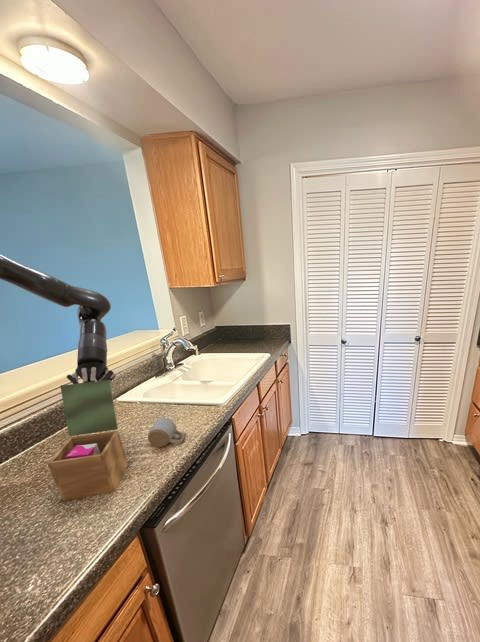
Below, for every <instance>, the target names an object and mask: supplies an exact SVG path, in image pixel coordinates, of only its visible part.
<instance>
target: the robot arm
mask: <svg viewBox="0 0 480 642" xmlns="http://www.w3.org/2000/svg"><path fill="white" fill-rule="evenodd" d="M0 280H2V281H4V282H6V283H9V284H11V285H14V286H16V287H18V288H19V289H22V290H25V291H26V292H29V293H31V294H33V295H35V296H37V297H40V298H42V299H44V300H47V301H48V302H50V303H53V304H56V305H58V306H61V307H63V308H70V307H72V306H78V308H77V311H76V313H77V315H76V316H77V320H78V323H79V327H80V329H79V339H78V344H77V359H76V366H77V367H76V368H75V371H74V372H73V374H67V375H66V379H68V381H70V383H71V384H78V383H80V382H79V380H80V379H81V380H82V383H87V382H96V381H105V380H110V382H112V381H113V380H114V379H115V378H116V373H115V372H114V371H113V370H109V368H108V367H107V365H108V363H107V362H108V343H107V327H106V324H105V323H104V322H102V319H103V318H104V317H105V316H107V315H108V314H109V313H110V311H111V309H112V304H111V302H110V300H109V299H108V298H107V297H106V296H105V295H103V294H101V293H99V292H98V291H94V290H90V289H87V288H82V287H79V286H74V285H72V284H69V283H67V282H66V281H63V280H61V279H59V278H57V277H54V276H52V275H50V274H48V273H45V272H43V271H40V270H38V269H36V268H32V267H31V266H28V265H25V264H23V263H20V262H18V261H15V260H13V259H11V258H9V257H7V256H5V255H3V254H1V253H0ZM79 378H80V379H79Z"/></svg>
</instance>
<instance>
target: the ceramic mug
mask: <svg viewBox="0 0 480 642" xmlns="http://www.w3.org/2000/svg"><path fill="white" fill-rule="evenodd" d="M175 435H177V436H179V437H180V439H173V438H174V436H175ZM184 439H185V435H184V433H182V432H181V431H180V430H177V425H176V423H175V422H174V421H173V420H171V419H169V418H167V417H162V418H158V419H156V420H155V421H154V423H153V425H152V426H151V428H150V430H149V431H148V435H147V440H148V442H149V444H151V445H152V446H154V447H157V448H162V447H165V446H167V445H169V443H171V444H175V445H176V444H181V443H183V441H184Z"/></svg>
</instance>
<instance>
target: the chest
mask: <svg viewBox="0 0 480 642" xmlns="http://www.w3.org/2000/svg"><path fill="white" fill-rule="evenodd" d="M95 443H97V445H98V448H99V450H100V453H101V454H98V455H91V456H85V457H78V458H71V459H66V458H65V456H66V455H67V454H68V453H69V452H70V451H72V450H73V448H74V447H75V446H78V445H88V444H95ZM128 466H129V463H128V459H127V456H126V452H125V448H124V446H123V443H122V439H121V436H120V431H119V430H112V431H105V432H98V433H91V434H84V435H76V436H69V438H68V439H67V440H66V441H65V443H64V444H63V445H62V446H61V447H60V448H59V449H58V451H57V452H56V453H55V454H54V456H52V457H51V459H50V460H49V461H48V462H47V467H48V468H49V471H50V473H51V476H52V478H53V481H54V483H55V485H56V487H57V490H58V493H59V495H60V497H61V500H62V501H69V500H75V499H81V498H87V497H93V496H98V495H105V494H109V493H116V491H117V489H118V488H119V485H120V483H121V480H122V478H123V476H124V474H125V472H126V470H127V467H128Z"/></svg>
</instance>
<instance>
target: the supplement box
mask: <svg viewBox="0 0 480 642" xmlns="http://www.w3.org/2000/svg"><path fill="white" fill-rule="evenodd" d="M98 454H101V453H100V450H99V448H98V445H97V443H95V444H88V445H78V446H75V447H74V448H73V450H72V451H70V452H69V453H68V454H67V455H66V456H65V458H66V459H71V458H78V457H85V456H91V455H98Z"/></svg>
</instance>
